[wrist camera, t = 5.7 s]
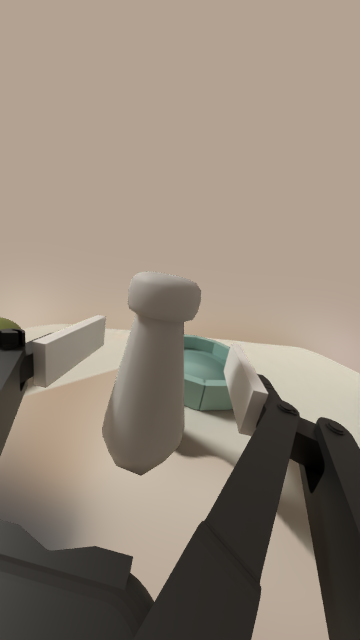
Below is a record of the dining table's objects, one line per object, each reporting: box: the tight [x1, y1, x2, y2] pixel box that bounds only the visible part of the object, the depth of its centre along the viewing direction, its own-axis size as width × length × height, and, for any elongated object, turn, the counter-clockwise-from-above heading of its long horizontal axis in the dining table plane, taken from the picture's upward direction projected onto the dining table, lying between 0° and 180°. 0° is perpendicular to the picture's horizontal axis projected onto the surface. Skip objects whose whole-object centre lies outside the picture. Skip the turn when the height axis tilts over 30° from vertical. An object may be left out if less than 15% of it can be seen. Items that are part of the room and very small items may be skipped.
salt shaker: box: [102, 271, 201, 475], centre depth 12 cm, size 6×6×13 cm
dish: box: [184, 334, 233, 411], centre depth 25 cm, size 14×14×3 cm
